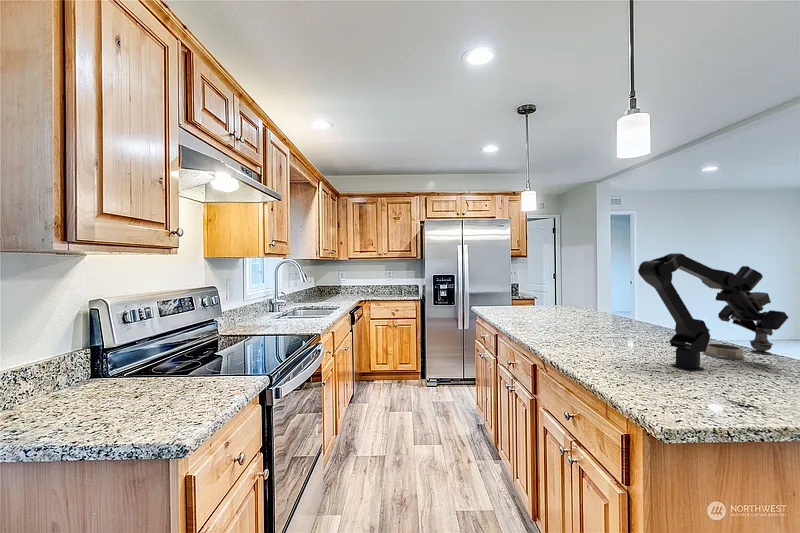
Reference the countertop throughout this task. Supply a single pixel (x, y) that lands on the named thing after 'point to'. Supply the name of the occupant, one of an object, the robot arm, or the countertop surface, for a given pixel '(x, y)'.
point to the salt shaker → (760, 343)
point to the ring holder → (724, 351)
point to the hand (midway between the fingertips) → (764, 333)
